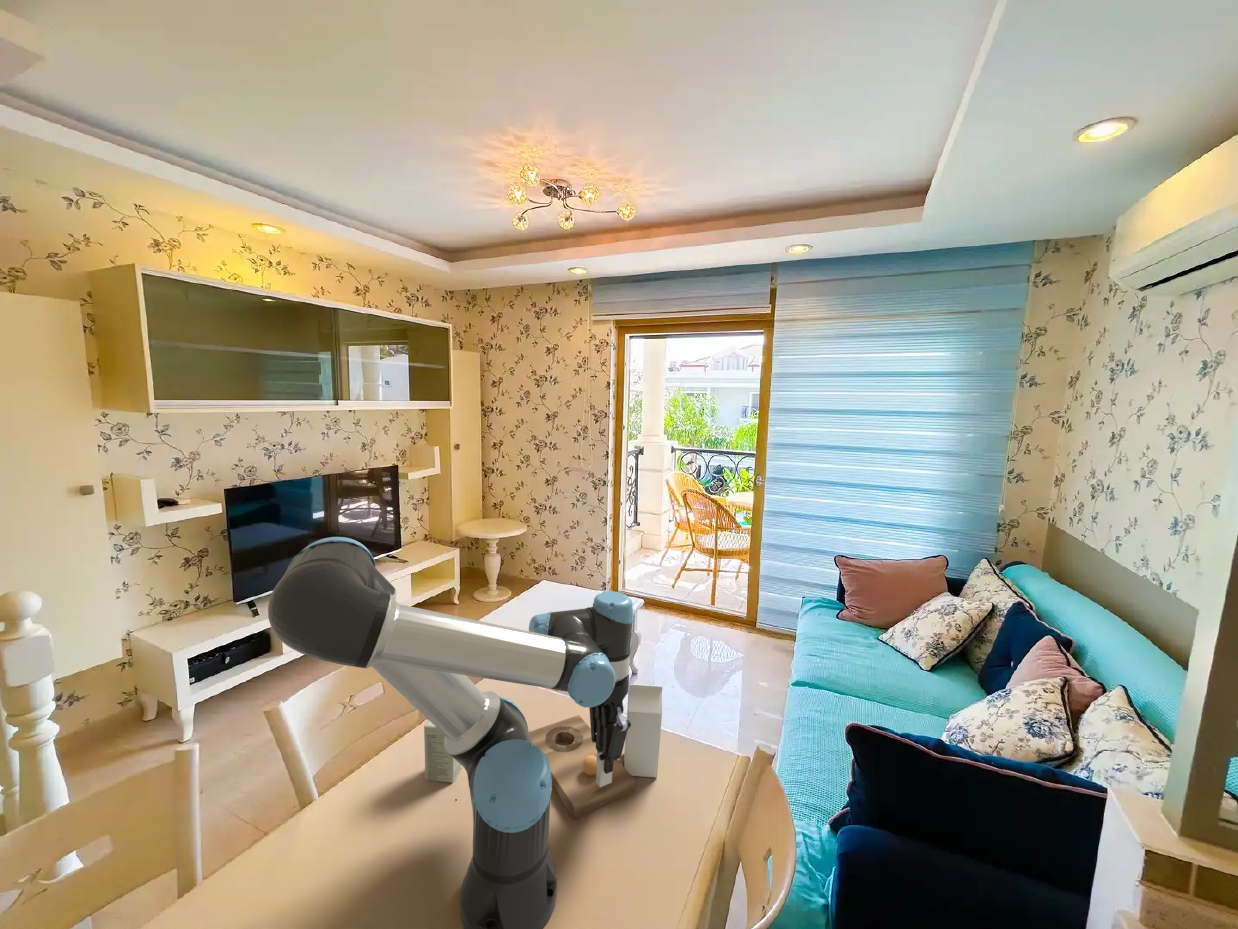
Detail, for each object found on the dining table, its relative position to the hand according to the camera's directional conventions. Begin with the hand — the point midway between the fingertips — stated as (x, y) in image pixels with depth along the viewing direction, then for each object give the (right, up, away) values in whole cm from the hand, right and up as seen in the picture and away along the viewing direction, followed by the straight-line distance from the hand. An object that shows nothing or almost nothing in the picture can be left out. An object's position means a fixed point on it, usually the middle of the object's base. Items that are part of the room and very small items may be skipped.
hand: (603, 782), depth 100 cm
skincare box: (-34, -1, +5) cm, 34 cm away
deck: (-6, -2, +9) cm, 11 cm away
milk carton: (+8, -3, +11) cm, 13 cm away
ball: (-3, +1, +4) cm, 5 cm away
